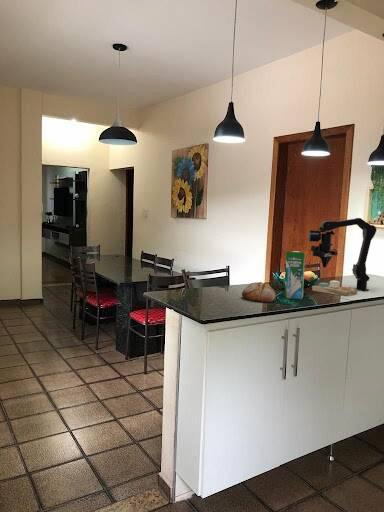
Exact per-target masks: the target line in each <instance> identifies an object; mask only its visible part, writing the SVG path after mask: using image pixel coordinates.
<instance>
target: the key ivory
mask: <svg viewBox="0 0 384 512" xmlns="http://www.w3.org/2000/svg"><path fill="white" fill-rule="evenodd" d="M329 285H330V287H332V288H339V287H341V286H340V285H341V281H340V280H334V279H333V280H330V281H329Z"/></svg>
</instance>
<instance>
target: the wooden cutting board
mask: <svg viewBox="0 0 384 512" xmlns="http://www.w3.org/2000/svg"><path fill="white" fill-rule="evenodd" d="M311 290H312V291H313V292H321V293H324V294H332V295H337V296H341V297H342V296H343V297H349V296H354V295H358V291H359V290H357V289H355V288H351V290H349V291H346V290H341V286H340V287H339V288H332V287H330V284H329V286H328V287H321V286H319V284H317V285H312V286H311Z"/></svg>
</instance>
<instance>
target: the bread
mask: <svg viewBox="0 0 384 512" xmlns="http://www.w3.org/2000/svg"><path fill="white" fill-rule="evenodd" d="M241 296H242V298H243V299H244V300H246V299H247V300H246V301H249V300H251V301H250V302H255V301H259V302H258V303H271V302H273V301H275V299H276V291H275V290H274V288H272V287H271V286H270V284H268V283H262V281H259V282H251V283H249V284H248V285H247V286H246V287H244V288H243V290H242V292H241Z"/></svg>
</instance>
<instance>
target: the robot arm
mask: <svg viewBox="0 0 384 512" xmlns="http://www.w3.org/2000/svg"><path fill="white" fill-rule="evenodd" d="M350 226H357V227H359V228H360V229H361V230H362V242H361V247H360V251H359V255H358V259H357V262H356V264H355V263H353V265H352V268H351V271H352V274H353V276H354V277H355V280H356V288H354V289H357V290H358V291H360V292H361V291H363V292H366V291H369V288H368V282H369V281H370V279H371V278H370V277H369V275H368V274H367V265H366V262H367V259H368V255H369V251H370V247H371V244H372V243H371V242H372V240H373V239H374V238H375V235H376V233H377V226H375V225H374V224H370V223H369V222H367V221H366V220H363V219H362V217H361V218H360V217H356V218H350V219H343V220H335V221H333V220H332V221H330V220H324V221H322V222H321V224H320V227H319V228H318V229H317V230H312V229H310V230H309V232H308V236H307V241H308V242H314V243H315V242H319V241H320V243H319V244H318V245H317V246H316V245H311V247H310V251H311V252H312V257H318V258H320V261H321V263H322V267H323V268H327V267H328V264H329V263H330V261H331V259H332V258H333V256H338V251H337V250H333V249H331V247H332V246H333V243H332V235H333V236H334V235H336V233H335V232H334V231H333V230H335V229H338V228H342V227H350Z"/></svg>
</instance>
